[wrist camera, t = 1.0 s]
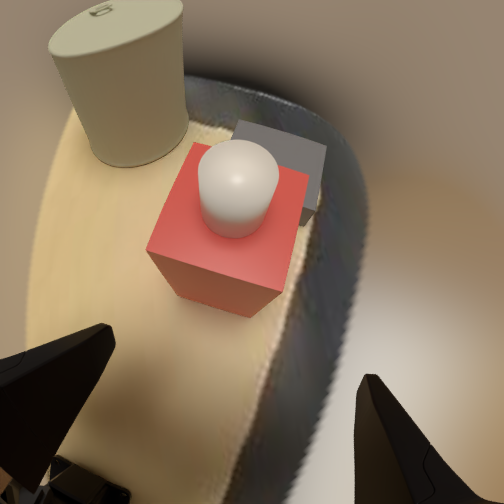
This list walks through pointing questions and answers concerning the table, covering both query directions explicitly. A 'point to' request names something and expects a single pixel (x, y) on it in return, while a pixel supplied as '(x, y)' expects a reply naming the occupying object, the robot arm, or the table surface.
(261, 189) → the ketchup bottle
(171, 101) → the can
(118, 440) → the table surface
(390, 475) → the robot arm
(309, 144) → the grey box
